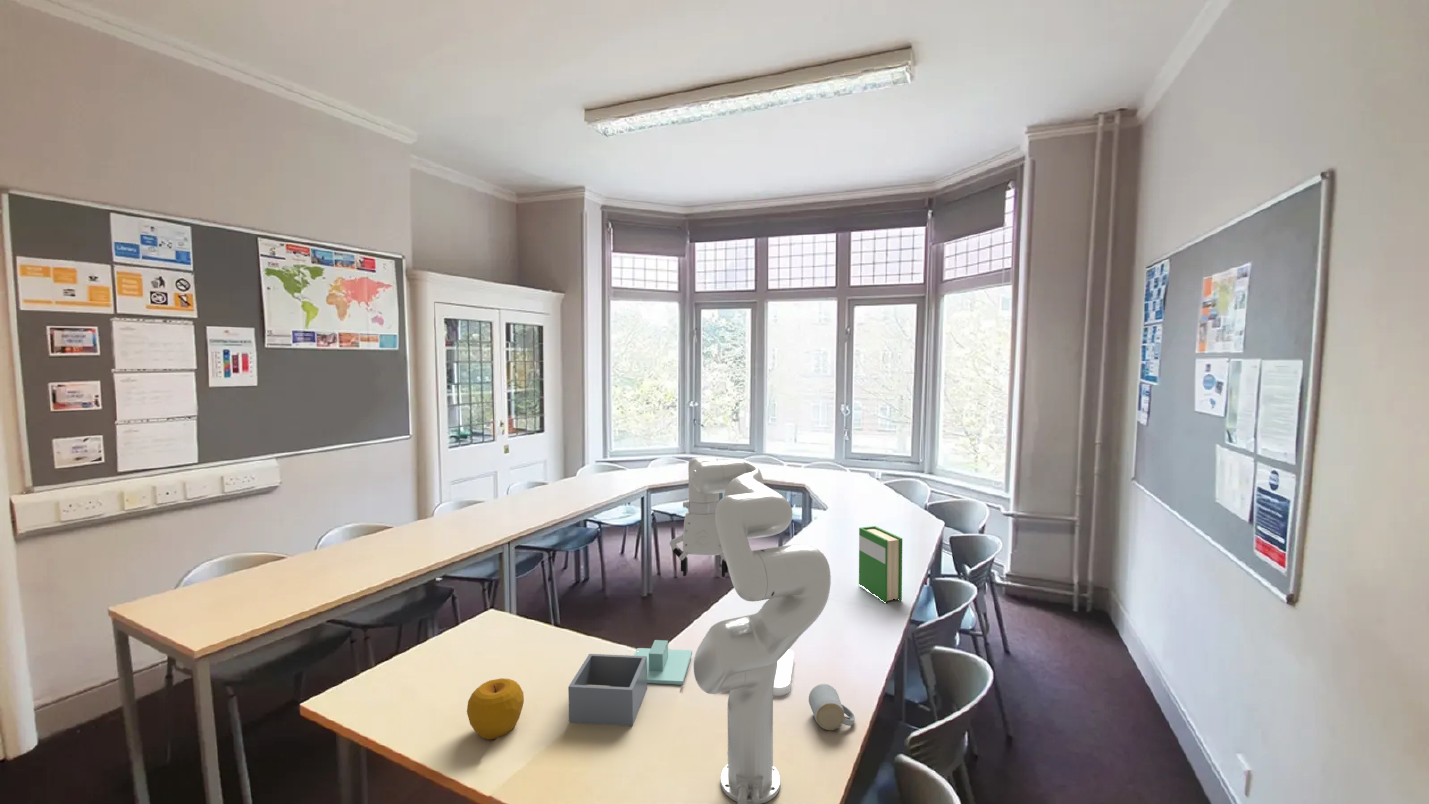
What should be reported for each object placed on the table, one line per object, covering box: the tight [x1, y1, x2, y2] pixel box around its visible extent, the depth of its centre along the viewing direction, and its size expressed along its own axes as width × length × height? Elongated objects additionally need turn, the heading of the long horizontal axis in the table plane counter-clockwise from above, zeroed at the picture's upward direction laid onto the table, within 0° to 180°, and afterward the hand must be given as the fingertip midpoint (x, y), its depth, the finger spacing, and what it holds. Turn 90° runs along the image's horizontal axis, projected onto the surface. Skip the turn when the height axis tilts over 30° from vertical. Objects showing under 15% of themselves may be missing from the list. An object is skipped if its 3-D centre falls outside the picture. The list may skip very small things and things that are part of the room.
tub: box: [567, 653, 648, 727], centre depth 143 cm, size 16×16×10 cm
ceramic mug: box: [808, 683, 856, 731], centre depth 137 cm, size 11×8×8 cm
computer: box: [773, 648, 795, 697], centre depth 161 cm, size 22×22×3 cm
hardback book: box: [858, 525, 903, 603], centre depth 216 cm, size 18×7×24 cm, turn 18°
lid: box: [633, 639, 693, 686], centre depth 161 cm, size 17×17×8 cm
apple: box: [466, 677, 525, 741], centre depth 135 cm, size 13×13×11 cm
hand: (704, 574), depth 138 cm, fingers open, 9 cm apart
